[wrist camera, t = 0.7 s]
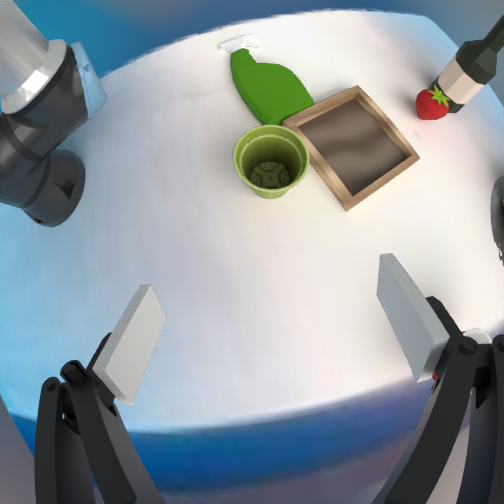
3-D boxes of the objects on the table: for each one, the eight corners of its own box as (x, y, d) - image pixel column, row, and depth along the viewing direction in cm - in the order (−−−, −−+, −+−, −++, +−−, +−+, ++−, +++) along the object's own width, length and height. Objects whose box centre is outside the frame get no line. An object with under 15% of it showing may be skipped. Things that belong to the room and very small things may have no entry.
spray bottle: (262, 133, 42) (209, 52, 45) (319, 112, 42) (256, 37, 45) (262, 124, 39) (206, 43, 42) (321, 103, 39) (256, 28, 42)
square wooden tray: (281, 128, 41) (282, 120, 39) (354, 92, 42) (357, 85, 39) (346, 211, 40) (351, 207, 37) (413, 163, 40) (420, 158, 38)
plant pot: (244, 214, 40) (239, 197, 32) (234, 158, 41) (228, 130, 33) (306, 205, 40) (317, 185, 31) (293, 149, 41) (299, 120, 32)
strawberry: (400, 105, 41) (421, 76, 31) (426, 105, 41) (449, 79, 31) (413, 130, 41) (438, 103, 31) (439, 129, 41) (464, 105, 31)
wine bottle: (462, 108, 41) (532, 38, 11) (448, 118, 41) (527, 40, 11) (439, 81, 42) (498, 3, 12) (423, 89, 42) (488, 1, 12)
